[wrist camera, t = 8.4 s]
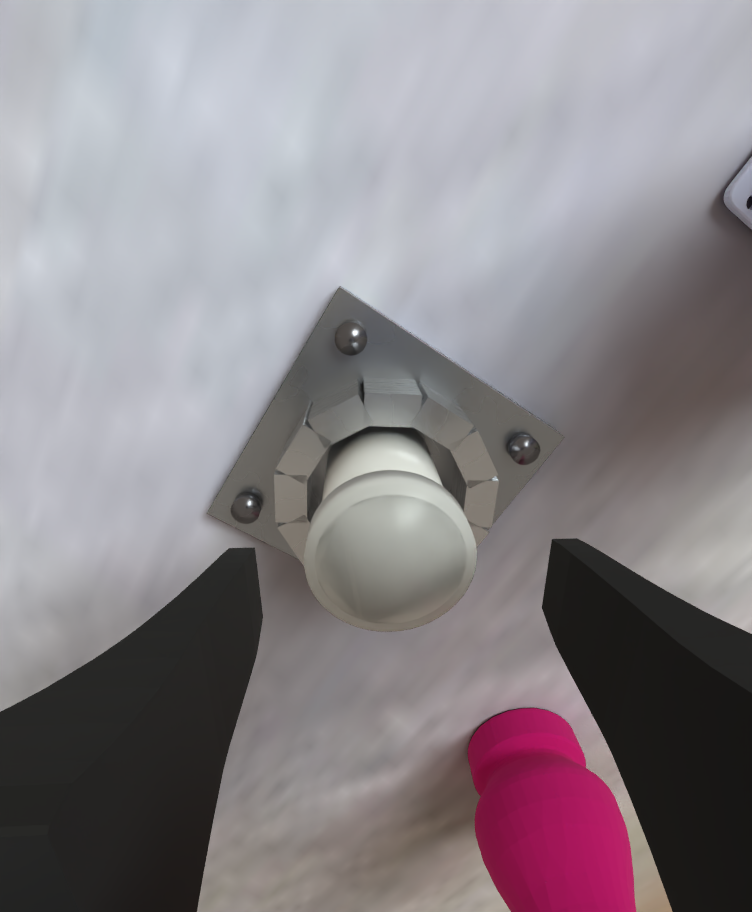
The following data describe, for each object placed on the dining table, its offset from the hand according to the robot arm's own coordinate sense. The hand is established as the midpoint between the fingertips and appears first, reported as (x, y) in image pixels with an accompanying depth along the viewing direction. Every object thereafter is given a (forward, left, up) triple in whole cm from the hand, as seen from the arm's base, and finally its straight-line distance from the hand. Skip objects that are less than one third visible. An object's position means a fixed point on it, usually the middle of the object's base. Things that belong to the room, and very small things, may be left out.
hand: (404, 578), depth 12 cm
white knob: (0, +1, -9) cm, 9 cm away
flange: (-1, +1, -10) cm, 10 cm away
